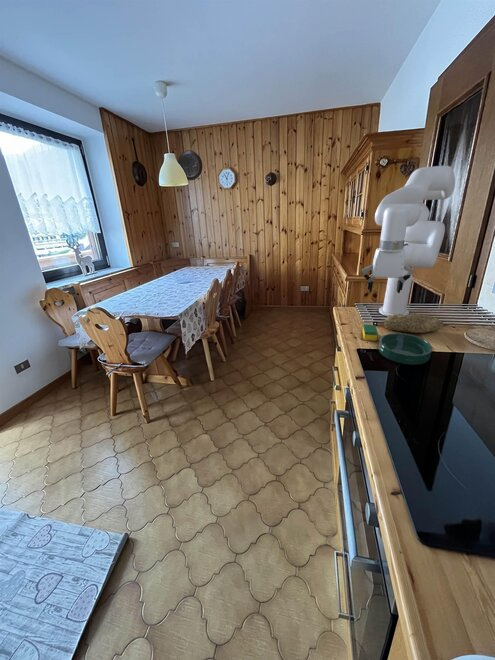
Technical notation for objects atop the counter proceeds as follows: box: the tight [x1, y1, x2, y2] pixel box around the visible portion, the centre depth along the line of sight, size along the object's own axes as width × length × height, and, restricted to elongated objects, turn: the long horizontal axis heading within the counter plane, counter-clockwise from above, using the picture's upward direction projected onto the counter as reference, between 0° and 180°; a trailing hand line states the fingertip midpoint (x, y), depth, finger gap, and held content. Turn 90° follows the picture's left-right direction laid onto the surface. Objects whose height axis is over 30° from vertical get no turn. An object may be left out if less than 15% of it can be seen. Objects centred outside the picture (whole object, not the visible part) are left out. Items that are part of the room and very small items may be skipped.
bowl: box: [377, 332, 433, 366], centre depth 99 cm, size 16×16×4 cm
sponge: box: [383, 313, 445, 334], centre depth 114 cm, size 13×8×20 cm
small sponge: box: [362, 323, 378, 342], centre depth 112 cm, size 7×4×4 cm, turn 164°
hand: (383, 291), depth 106 cm, fingers open, 9 cm apart
